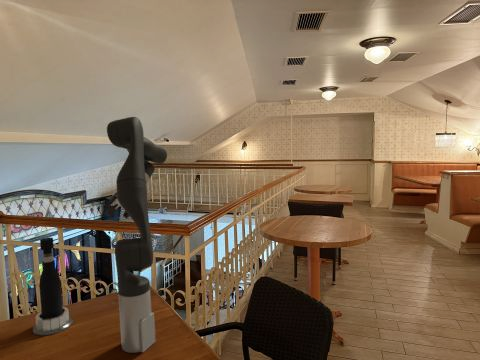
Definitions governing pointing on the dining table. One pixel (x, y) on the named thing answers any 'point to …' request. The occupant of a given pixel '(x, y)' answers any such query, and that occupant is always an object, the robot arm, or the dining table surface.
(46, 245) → the black bottle
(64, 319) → the bottle collar
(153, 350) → the dining table surface
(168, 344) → the dining table surface
